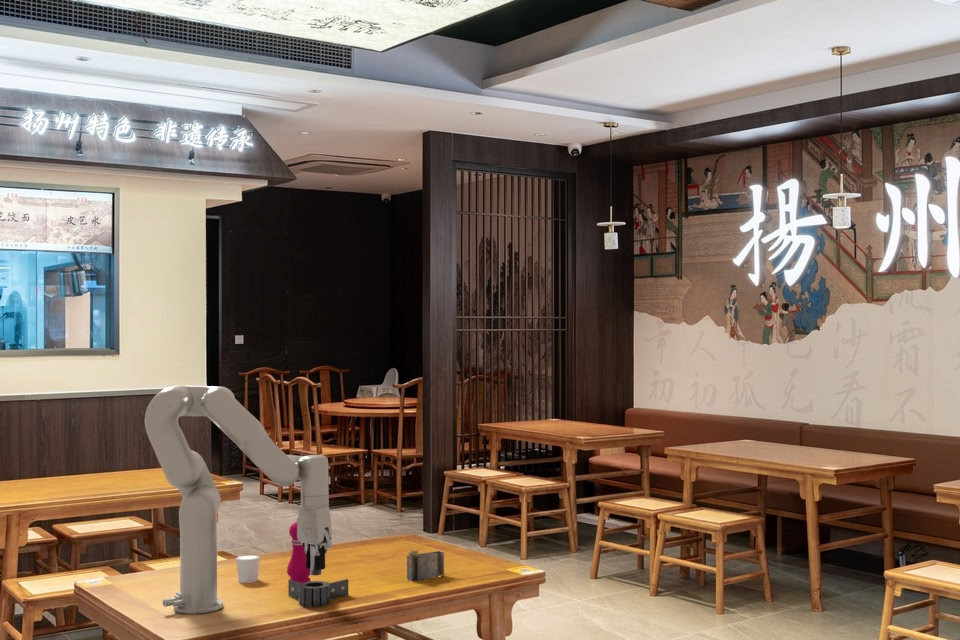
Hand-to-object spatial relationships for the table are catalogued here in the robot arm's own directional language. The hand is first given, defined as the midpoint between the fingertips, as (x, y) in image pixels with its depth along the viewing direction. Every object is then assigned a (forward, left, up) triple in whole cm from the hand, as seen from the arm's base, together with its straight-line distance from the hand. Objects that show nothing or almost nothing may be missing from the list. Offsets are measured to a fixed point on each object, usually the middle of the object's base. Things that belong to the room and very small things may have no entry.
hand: (315, 567), depth 264 cm
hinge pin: (0, 0, -2) cm, 2 cm away
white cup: (+2, +35, -10) cm, 37 cm away
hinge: (+3, +4, -10) cm, 11 cm away
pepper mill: (+9, +19, -10) cm, 23 cm away
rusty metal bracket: (+40, -2, -10) cm, 41 cm away
